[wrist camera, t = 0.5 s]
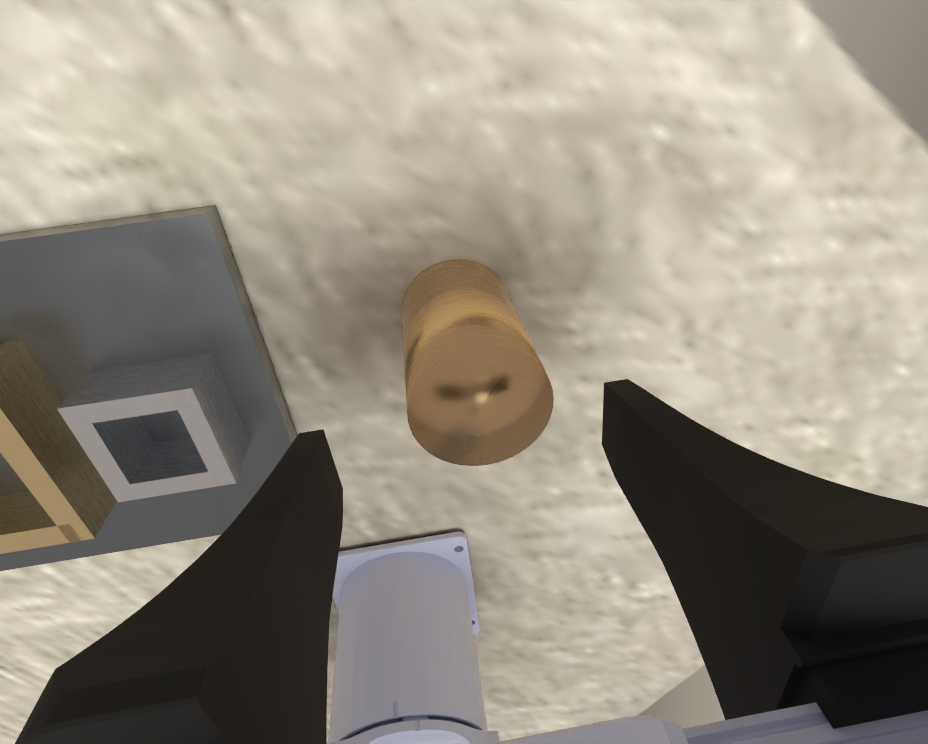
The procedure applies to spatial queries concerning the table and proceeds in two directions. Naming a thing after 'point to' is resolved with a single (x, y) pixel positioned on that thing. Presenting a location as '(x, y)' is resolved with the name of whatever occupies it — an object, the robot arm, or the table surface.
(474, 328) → the cylindrical peg
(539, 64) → the table surface
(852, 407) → the table surface
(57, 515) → the fitting plate
